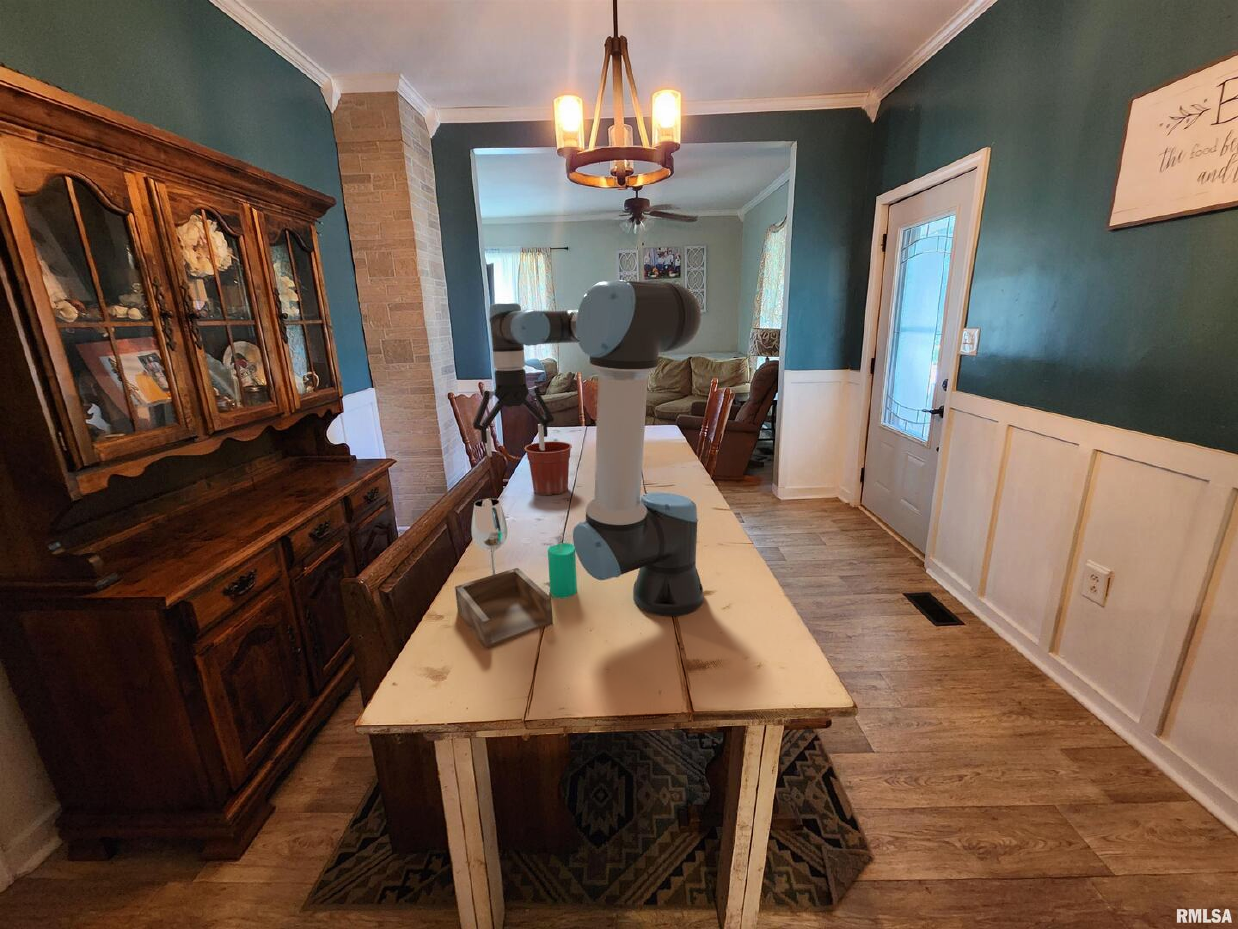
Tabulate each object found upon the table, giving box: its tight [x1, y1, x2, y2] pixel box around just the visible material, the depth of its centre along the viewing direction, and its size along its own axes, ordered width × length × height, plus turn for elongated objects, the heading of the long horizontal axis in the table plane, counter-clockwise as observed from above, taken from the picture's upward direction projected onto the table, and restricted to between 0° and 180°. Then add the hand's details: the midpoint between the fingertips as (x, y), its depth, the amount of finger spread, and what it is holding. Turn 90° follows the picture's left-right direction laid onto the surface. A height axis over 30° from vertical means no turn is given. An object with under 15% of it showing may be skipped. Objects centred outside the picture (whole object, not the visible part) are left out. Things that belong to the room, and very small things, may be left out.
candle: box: [547, 542, 578, 599], centre depth 114 cm, size 6×6×12 cm
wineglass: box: [471, 498, 508, 575], centre depth 116 cm, size 8×8×20 cm
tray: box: [454, 567, 554, 650], centre depth 105 cm, size 16×14×6 cm
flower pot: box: [524, 440, 573, 496], centre depth 182 cm, size 16×16×16 cm
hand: (516, 452), depth 132 cm, fingers open, 13 cm apart
